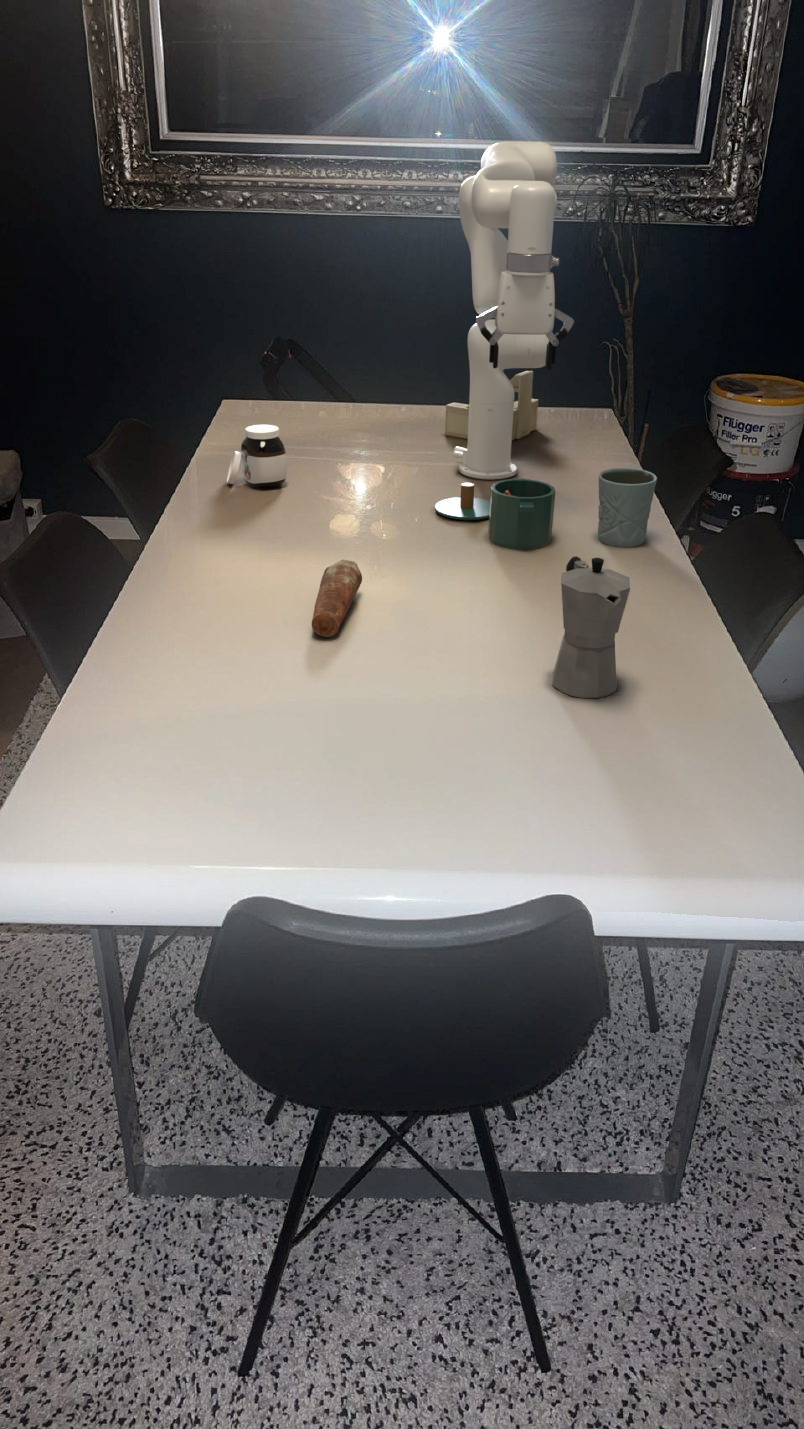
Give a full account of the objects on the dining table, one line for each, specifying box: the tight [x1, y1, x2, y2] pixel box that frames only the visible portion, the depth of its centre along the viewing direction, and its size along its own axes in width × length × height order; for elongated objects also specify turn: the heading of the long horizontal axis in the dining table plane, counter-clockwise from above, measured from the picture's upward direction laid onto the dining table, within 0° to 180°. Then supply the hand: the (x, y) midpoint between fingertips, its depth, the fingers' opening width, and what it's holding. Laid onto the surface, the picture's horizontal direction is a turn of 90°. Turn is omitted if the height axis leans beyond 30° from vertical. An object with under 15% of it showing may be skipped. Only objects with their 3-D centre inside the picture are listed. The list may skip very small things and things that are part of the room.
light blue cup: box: [597, 467, 658, 548], centre depth 188 cm, size 10×10×12 cm
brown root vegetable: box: [311, 559, 363, 638], centre depth 158 cm, size 6×19×6 cm, turn 172°
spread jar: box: [226, 424, 288, 490], centre depth 215 cm, size 12×11×12 cm
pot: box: [487, 477, 557, 551], centre depth 188 cm, size 11×17×10 cm
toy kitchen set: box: [444, 370, 539, 441], centre depth 254 cm, size 18×17×15 cm
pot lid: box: [434, 482, 490, 521], centre depth 202 cm, size 12×12×6 cm
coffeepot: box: [551, 556, 631, 699], centre depth 137 cm, size 15×9×18 cm, turn 13°
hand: (521, 367), depth 187 cm, fingers open, 9 cm apart
